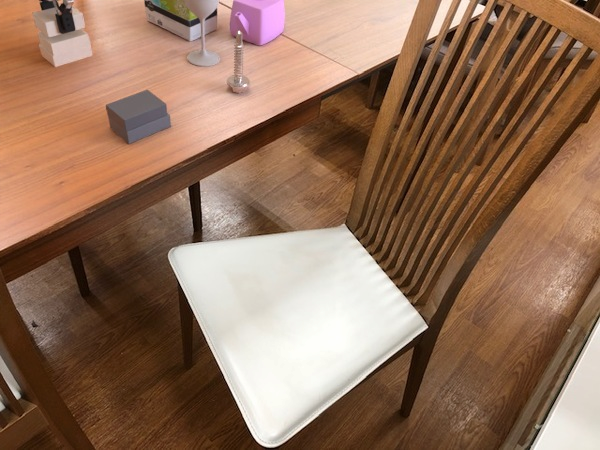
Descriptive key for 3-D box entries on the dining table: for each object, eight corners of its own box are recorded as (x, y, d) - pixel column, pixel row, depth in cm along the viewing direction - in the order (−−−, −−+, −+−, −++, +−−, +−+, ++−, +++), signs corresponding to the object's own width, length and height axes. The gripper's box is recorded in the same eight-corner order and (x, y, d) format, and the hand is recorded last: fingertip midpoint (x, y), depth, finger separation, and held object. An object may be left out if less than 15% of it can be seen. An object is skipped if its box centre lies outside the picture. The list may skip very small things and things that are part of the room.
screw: (231, 81, 109) (252, 86, 108) (223, 93, 105) (245, 98, 105) (231, 22, 99) (254, 27, 99) (222, 32, 96) (247, 38, 95)
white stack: (55, 67, 106) (49, 44, 102) (41, 55, 108) (35, 33, 105) (92, 55, 110) (88, 33, 107) (78, 45, 113) (73, 23, 109)
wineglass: (186, 66, 111) (180, -35, 96) (186, 50, 116) (180, -49, 101) (221, 67, 112) (220, -33, 97) (219, 50, 118) (218, -47, 103)
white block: (48, 37, 102) (44, 23, 99) (35, 27, 104) (31, 12, 102) (85, 27, 106) (82, 13, 104) (72, 17, 108) (69, 3, 106)
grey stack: (129, 144, 91) (124, 120, 87) (110, 127, 93) (105, 104, 90) (171, 126, 95) (168, 103, 92) (152, 111, 98) (149, 88, 95)
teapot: (254, 54, 118) (255, 10, 111) (217, 39, 121) (216, -4, 114) (292, 28, 130) (296, -13, 122) (258, 15, 133) (260, -25, 125)
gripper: (-6, -82, 93) (22, 14, 106) (38, -53, 86) (63, 47, 99) (34, -87, 98) (56, 6, 111) (80, -60, 90) (98, 37, 103)
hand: (59, 25), depth 105 cm, fingers closed on white block, 5 cm apart
